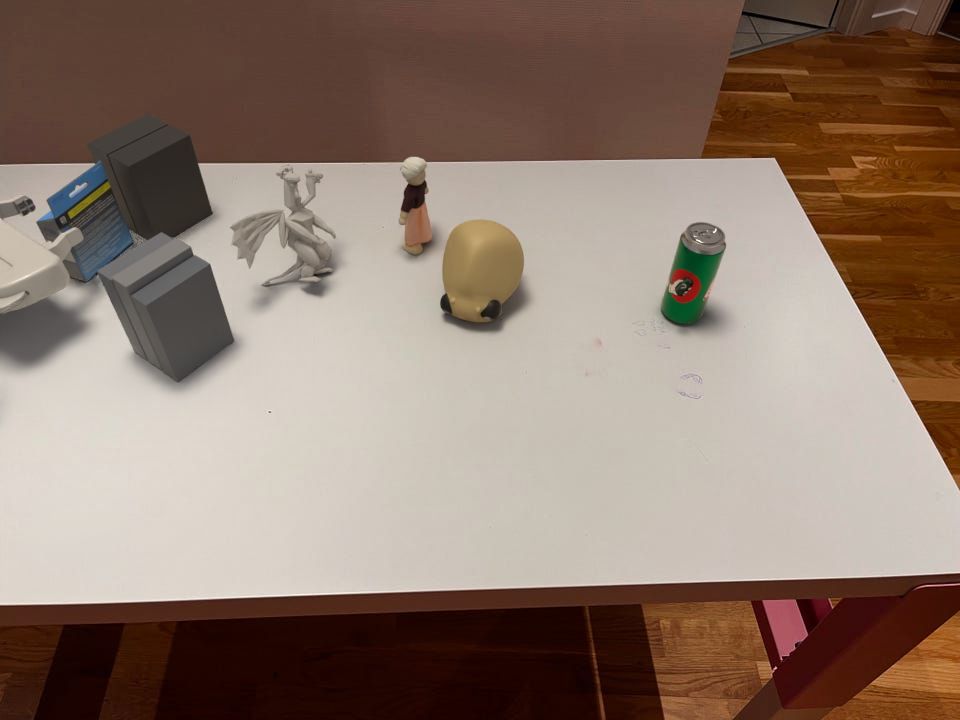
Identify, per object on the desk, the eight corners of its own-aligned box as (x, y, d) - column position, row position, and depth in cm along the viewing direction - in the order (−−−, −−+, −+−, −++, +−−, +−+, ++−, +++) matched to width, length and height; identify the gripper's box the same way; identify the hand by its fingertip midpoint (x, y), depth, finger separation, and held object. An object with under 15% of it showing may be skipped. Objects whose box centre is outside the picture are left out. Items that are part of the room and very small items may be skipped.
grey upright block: (134, 351, 84) (94, 266, 74) (190, 312, 88) (160, 228, 79) (178, 382, 81) (142, 298, 72) (234, 340, 85) (207, 256, 76)
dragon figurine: (232, 305, 85) (197, 185, 80) (296, 261, 101) (270, 159, 96) (310, 298, 83) (279, 174, 78) (363, 254, 99) (340, 149, 94)
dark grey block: (119, 222, 99) (86, 143, 90) (173, 191, 104) (147, 113, 95) (158, 246, 96) (128, 166, 87) (213, 213, 101) (189, 134, 92)
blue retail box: (111, 234, 98) (76, 152, 88) (135, 242, 97) (102, 159, 88) (61, 275, 92) (18, 191, 83) (87, 283, 91) (46, 200, 82)
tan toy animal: (443, 311, 95) (415, 310, 84) (463, 218, 93) (437, 206, 83) (517, 328, 92) (497, 330, 82) (538, 233, 91) (521, 223, 81)
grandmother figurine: (426, 261, 96) (423, 177, 86) (397, 257, 96) (391, 173, 87) (437, 225, 101) (436, 142, 91) (410, 222, 101) (405, 139, 92)
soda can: (705, 327, 89) (733, 248, 80) (663, 326, 89) (687, 247, 80) (697, 298, 92) (723, 220, 83) (656, 297, 92) (678, 219, 83)
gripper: (-24, 296, 73) (98, 227, 81) (-128, 218, 81) (-7, 162, 88) (5, 340, 78) (118, 271, 85) (-96, 263, 85) (16, 206, 93)
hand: (53, 215), depth 87 cm, fingers open, 8 cm apart
